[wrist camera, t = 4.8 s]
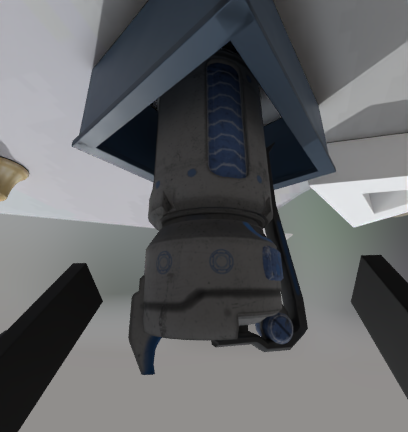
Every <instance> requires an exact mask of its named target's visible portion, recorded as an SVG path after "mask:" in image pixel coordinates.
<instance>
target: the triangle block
mask: <svg viewBox="0 0 408 432" xmlns="http://www.w3.org/2000/svg"><path fill="white" fill-rule="evenodd" d="M326 144H327V148H328V153H329V156H330V158H331V160H332V162H333V164H334V166H335V168H336V172H334V173H331V174H328V175H324V176H320V177H317V178H313V179H310V180H308V183H309V186H310V187H311V188H312V189H313V190H315V191H316V192H317V193H318V194H319V195H320V196H321V197H322V198H323V199H324V200H325V201H326V202H327V203H328V204H329V205H330V206H332V207H333V208H334V209H335V210H336V211H337V212H338V213H339V214H340V215H341V216H342V217H343V218H344V219H345V220H346V221H347V222H348V223H350V225H351V226H353V227H357V226H361V225H364V224H368V223H371V222H374V221H378V220H382V219H385V218H389V217H392V216H396V215H399V214H403V213H406V212H408V133H403V134H395V135H387V136H380V137H372V138H364V139H356V140H348V141H340V142H333V143H326Z"/></svg>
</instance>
